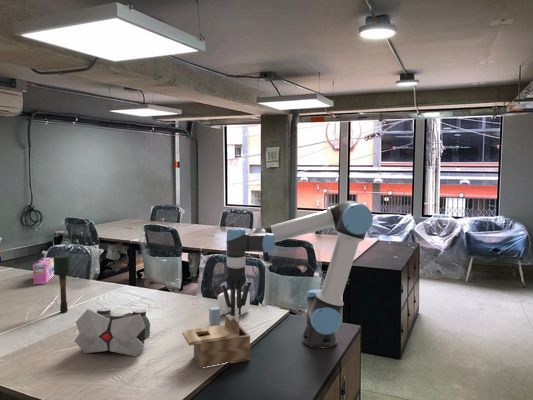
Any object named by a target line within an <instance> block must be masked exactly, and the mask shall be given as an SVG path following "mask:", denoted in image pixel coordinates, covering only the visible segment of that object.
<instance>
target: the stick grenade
mask: <svg viewBox="0 0 533 400" xmlns="http://www.w3.org/2000/svg"><path fill="white" fill-rule="evenodd" d="M53 257H54V273H53V274H54V275H55V276H58V279H59V287H60V305H59V307H60V309H59V312H60V314H61V313H63V314H64V313H67V312H68V310H69V308H68V301H67V275H69V274H71V273H72V269H71V267H72V266H71V255H69V254H60V255H55V256H53Z"/></svg>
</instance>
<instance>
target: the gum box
mask: <svg viewBox="0 0 533 400" xmlns="http://www.w3.org/2000/svg"><path fill="white" fill-rule="evenodd" d="M54 257H55V256H52V257H41V258H40V259H39V260H38V261H36V262H35V263H33V264H32V278H33V280H32V281H33V282H32V283H33V285H34V284H42V285H47V284H48V283H49V282H50V281H51V280H52V279H53V278H54V277H55V276H54V274H53V273H54ZM53 276H54V277H53ZM52 277H53V278H52ZM51 278H52V279H51ZM50 279H51V280H50ZM49 280H50V281H49ZM48 281H49V282H48ZM47 282H48V283H47ZM46 283H47V284H46Z"/></svg>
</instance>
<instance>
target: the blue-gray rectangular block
mask: <svg viewBox="0 0 533 400" xmlns="http://www.w3.org/2000/svg"><path fill="white" fill-rule="evenodd" d="M208 308H209V309H208V310H209V313H208V315H209V318H208V320H209V321H208V323H209V326H208V327H211V326H217V325H221V319H220V318H221V315H220V309H219V308H218V306H210V307H208Z"/></svg>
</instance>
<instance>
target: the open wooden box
mask: <svg viewBox="0 0 533 400" xmlns="http://www.w3.org/2000/svg"><path fill="white" fill-rule="evenodd" d="M197 336H198V337H202V336H208V333H207V334H200V335H197ZM193 358H194V359H195V358H196V359H195V361H196V360H197V361H198V363H199V364H198V363H197V364H198V366H199V365H200V366H201V368H203V367H207V366H212V365H217V364H222V363H226V362H230V363H231V364H234V363H235V364H236V363H240V362H245V361H250V360H251V335H250V334H249V333H248V331H246V330H245V329H244V328H243V327H242V325H240V324H239V337H236V338H230V339H225V340H219V341H213V342H207V343H201V344H195V345H193ZM197 361H196V362H197ZM200 366H199V367H200ZM201 368H200V369H201Z"/></svg>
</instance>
